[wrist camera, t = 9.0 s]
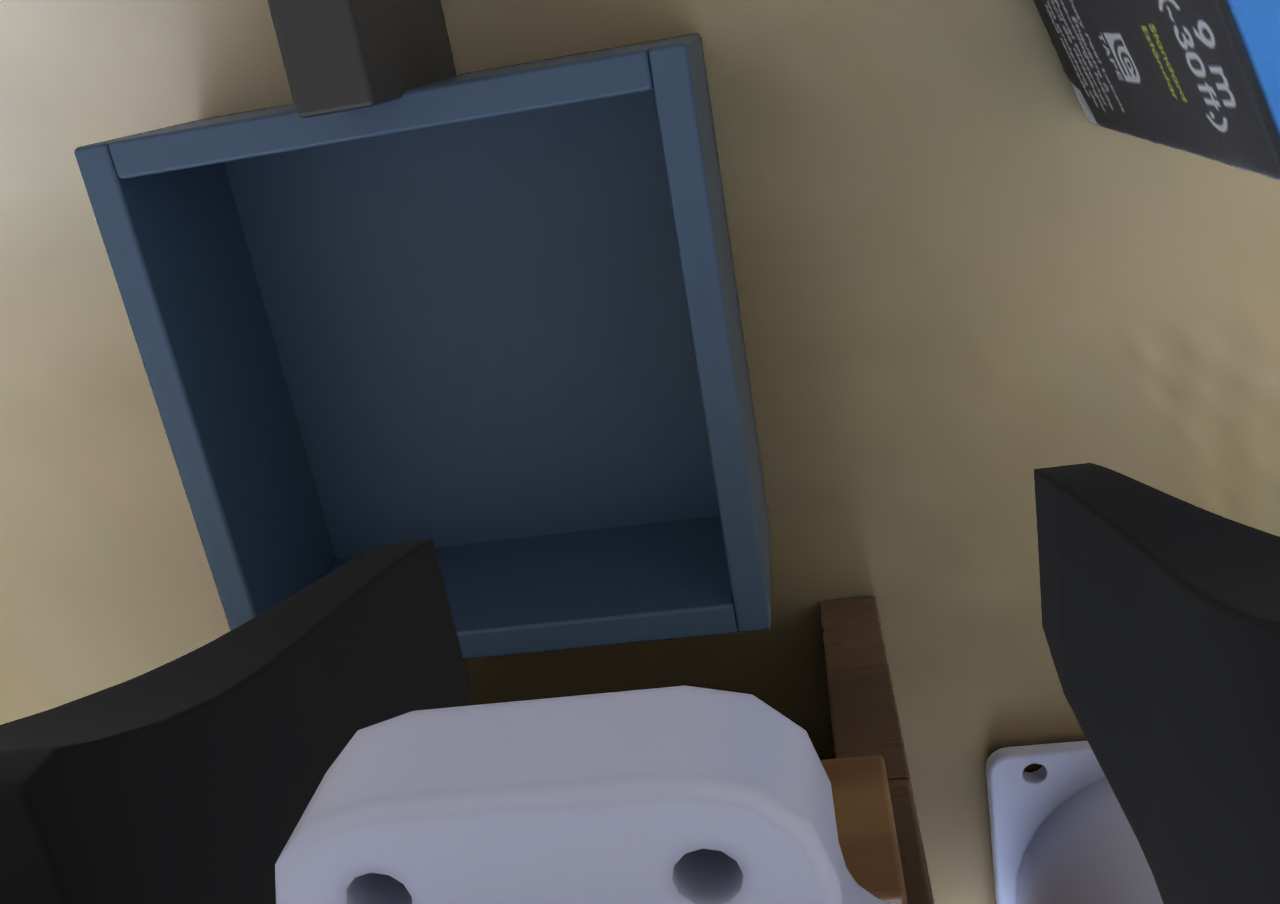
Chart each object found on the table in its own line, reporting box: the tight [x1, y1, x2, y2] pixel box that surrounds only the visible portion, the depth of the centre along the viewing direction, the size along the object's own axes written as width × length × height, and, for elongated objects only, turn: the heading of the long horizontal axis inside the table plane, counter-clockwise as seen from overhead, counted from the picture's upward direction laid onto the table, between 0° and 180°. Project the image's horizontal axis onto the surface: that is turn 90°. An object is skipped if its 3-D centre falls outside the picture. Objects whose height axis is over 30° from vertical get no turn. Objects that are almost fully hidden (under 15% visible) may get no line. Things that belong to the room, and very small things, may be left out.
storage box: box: [75, 0, 771, 659], centre depth 20 cm, size 10×16×6 cm, turn 10°
